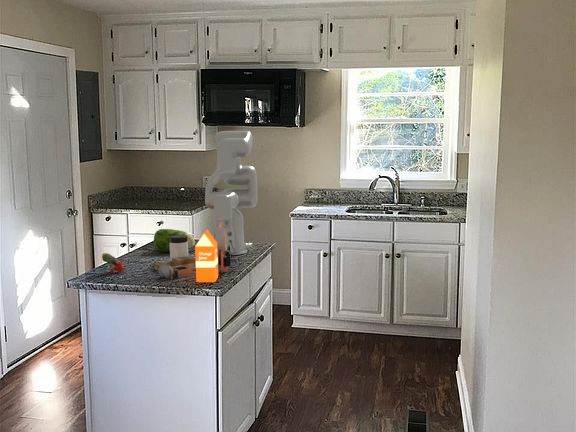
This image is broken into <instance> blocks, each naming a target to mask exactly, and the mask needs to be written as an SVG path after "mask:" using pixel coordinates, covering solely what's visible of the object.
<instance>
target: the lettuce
mask: <svg viewBox="0 0 576 432" xmlns="http://www.w3.org/2000/svg"><path fill="white" fill-rule="evenodd" d="M172 235H187V238H188V249H191V248H193V247H194V246H195V245H196V238H195V237H194V236H193V235H192V234H190V233H188V232H187V231H184V230H179V229H173V228H160V229H158V230H156V231H155V233H154V236H153V246H154V248H155V250H157V251H158V252H163V253H165V252H166V253H170V236H172Z"/></svg>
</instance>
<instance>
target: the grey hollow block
mask: <svg viewBox="0 0 576 432" xmlns="http://www.w3.org/2000/svg"><path fill="white" fill-rule="evenodd" d="M158 274H159V275H160V276H161V277H163V278H165V279H168V280H173V279H174V278H176V279H181V278H187V277H191V276H194V269H193V268H190V267H187V266H179V267H174V268H173V267H170V266H168V265H162V266H160V268H159V271H158Z"/></svg>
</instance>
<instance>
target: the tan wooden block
mask: <svg viewBox="0 0 576 432" xmlns="http://www.w3.org/2000/svg"><path fill="white" fill-rule="evenodd" d="M192 263H196V257H193V256H190V255H188V256H183V257H176V258H172V265H173V267H174V266H180V265H186V264H192Z"/></svg>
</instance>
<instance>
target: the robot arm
mask: <svg viewBox="0 0 576 432" xmlns="http://www.w3.org/2000/svg"><path fill="white" fill-rule="evenodd" d="M214 140H215V143H216V146H217V154H216V155H217V158H216V170H215V171H214V172H213V173H212V175H211V176H210V177H209V178H208V180H207V183H206V185H205V190H204V191H205V192H204V193H205V194H204V195H205V197H204V204H205V206H206V207H207V209H209V210H213V214H214V215H213V216H214V221H213V222H214V233H213V235H214V236H213V238H214V239H215V240H216V242H217V252H218V266H221V250H224V258H223V266H224V267H227V266H228V267H231V256H238V255H239V256H240V255H244V254H247V253H248V249H247V248H252V247H253V243H252V242H249V243H248V242H245V237H244V236H245V235H244V234H245V231H244V230H245V229H244V216H243V213H242V212H241V211H240V210H239V209H250V208H251V209H252V208H256V206H257V205H258V201H259V200H258V175H257V171H256V168H255V167H254V166H252V165H242V163H241V162H242V161H241V160H242V159H241V158H248V157H249V156H250V155H251V151H252V148H253V147H252V146H253V141H254V140H253V135H252V133H251V131H250V130H224V131H222V130H221V131H217V132H216V134H215V135H214ZM222 181H223V182H224V184H225V185H226V186H231V187H234V188H226V189H224V190H223V191H213V189H214V187H215V185H217V184H218V183H219V182H222ZM241 186H242V187H241ZM244 186H245V188H243V187H244ZM237 187H241V188H237ZM227 249H228V250H227ZM226 252H227V253H226Z"/></svg>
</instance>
